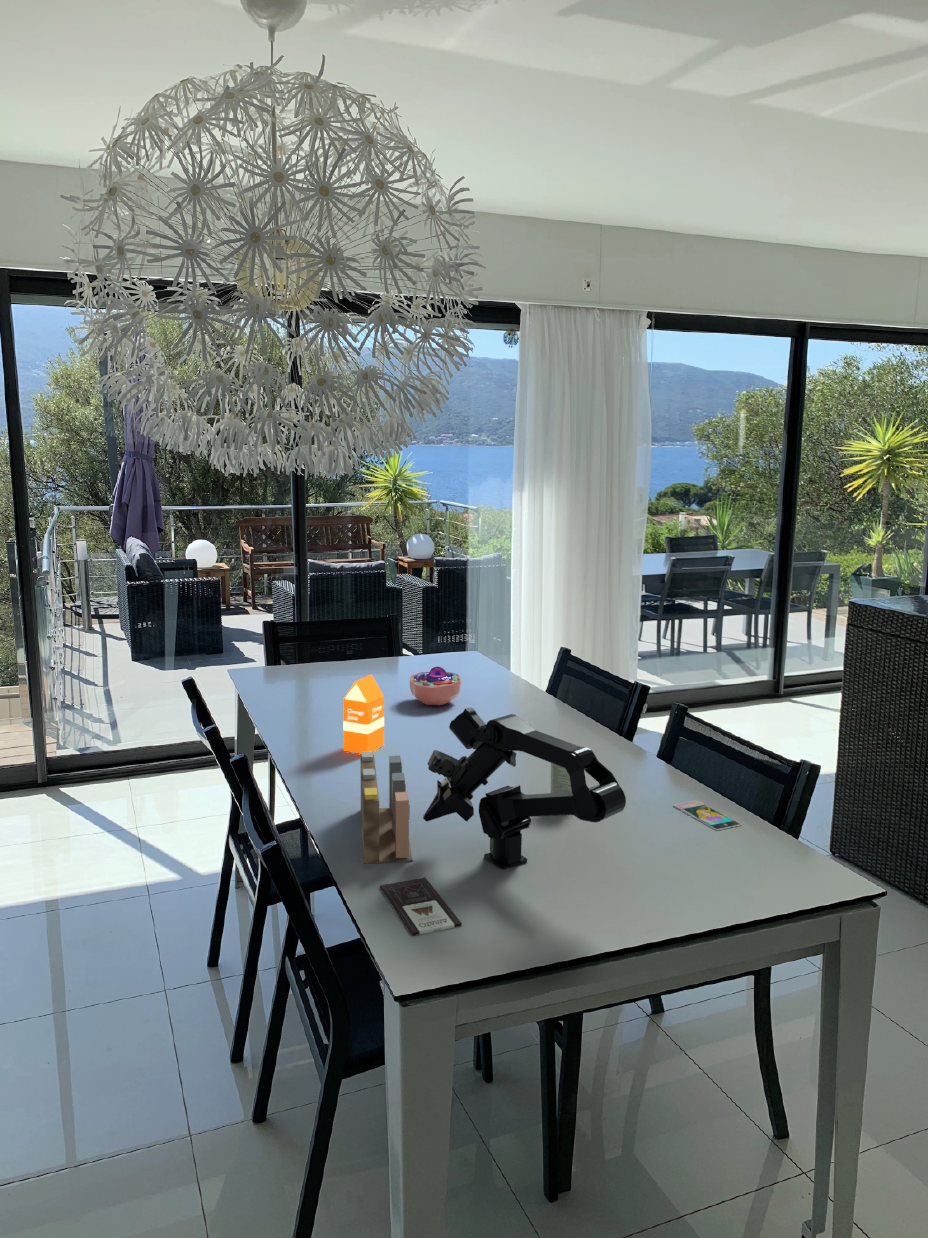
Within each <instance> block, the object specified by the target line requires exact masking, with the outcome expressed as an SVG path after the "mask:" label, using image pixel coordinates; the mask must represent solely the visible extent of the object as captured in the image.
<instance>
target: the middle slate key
mask: <svg viewBox="0 0 928 1238" xmlns="http://www.w3.org/2000/svg"><path fill="white" fill-rule="evenodd" d="M406 785H407V783H406V777H405V773H404V772H402V773H392V832H393V835H395V792H407V789H406V787H407V786H406Z"/></svg>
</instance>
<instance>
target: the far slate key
mask: <svg viewBox="0 0 928 1238" xmlns="http://www.w3.org/2000/svg"><path fill="white" fill-rule="evenodd" d="M402 763H403V762H402V757H401V755H389V756H388V808H389V810H390V814H392V773H403V764H402Z"/></svg>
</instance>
